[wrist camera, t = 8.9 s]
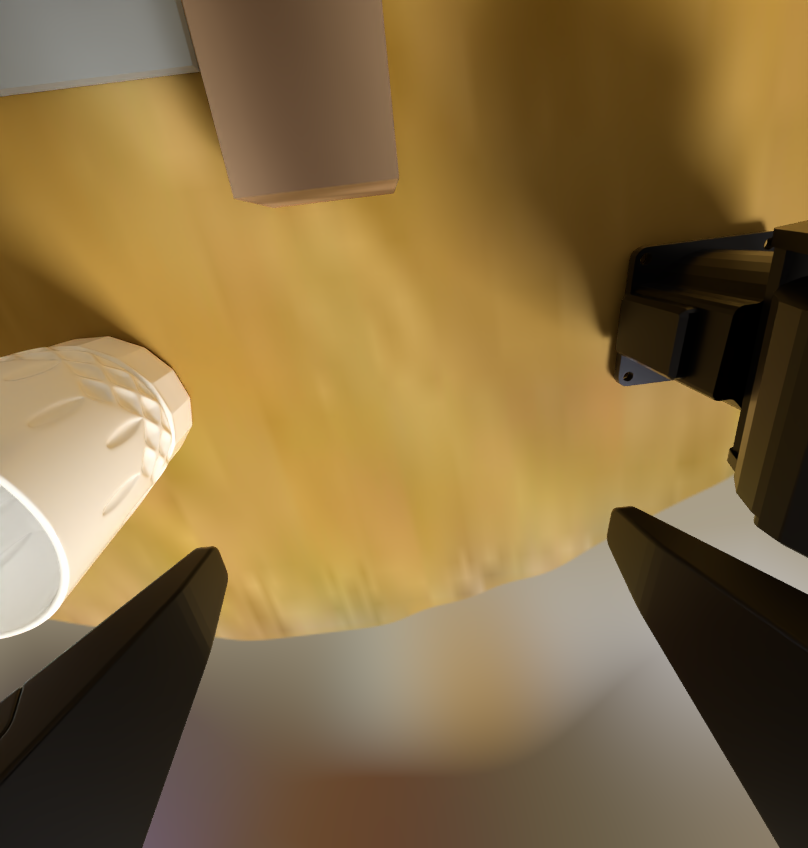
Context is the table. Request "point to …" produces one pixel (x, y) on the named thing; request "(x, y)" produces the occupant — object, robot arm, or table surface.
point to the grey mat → (90, 43)
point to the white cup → (76, 462)
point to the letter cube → (298, 97)
